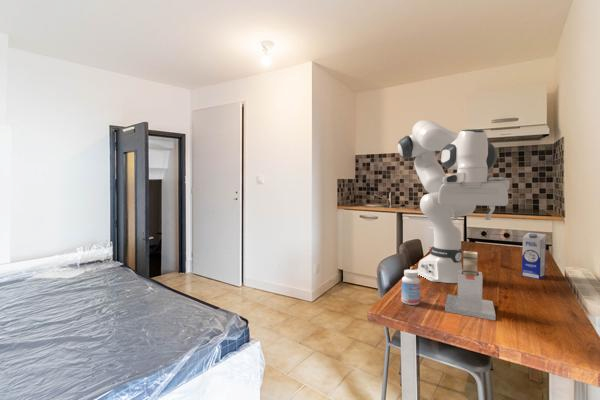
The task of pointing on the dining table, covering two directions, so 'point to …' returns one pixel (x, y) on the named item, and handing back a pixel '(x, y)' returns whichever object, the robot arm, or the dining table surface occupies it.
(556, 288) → the dining table surface
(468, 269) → the post
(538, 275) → the milk carton
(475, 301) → the sleeve
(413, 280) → the pill bottle
